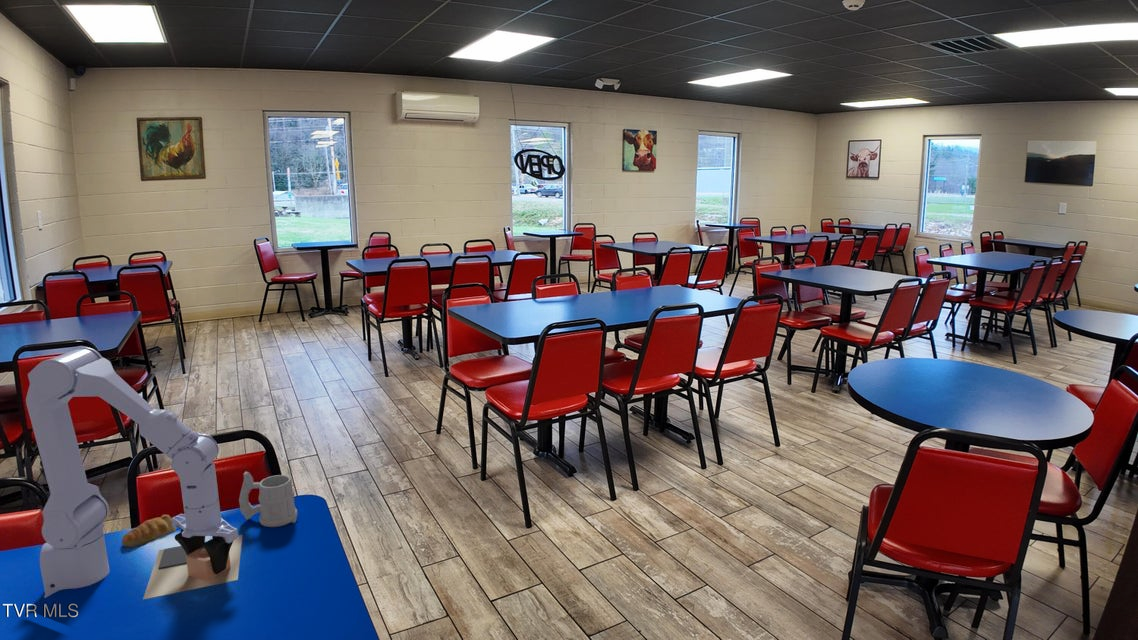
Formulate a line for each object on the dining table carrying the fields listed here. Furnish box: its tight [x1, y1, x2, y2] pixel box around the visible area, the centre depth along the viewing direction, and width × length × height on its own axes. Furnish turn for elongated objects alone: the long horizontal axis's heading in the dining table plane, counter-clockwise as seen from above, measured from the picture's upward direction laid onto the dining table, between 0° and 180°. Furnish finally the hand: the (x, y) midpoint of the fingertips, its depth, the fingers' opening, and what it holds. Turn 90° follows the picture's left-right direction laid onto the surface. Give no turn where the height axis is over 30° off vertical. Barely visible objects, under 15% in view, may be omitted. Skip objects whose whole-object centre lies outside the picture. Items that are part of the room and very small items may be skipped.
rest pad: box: [158, 545, 187, 569], centre depth 130 cm, size 7×7×1 cm
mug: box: [238, 471, 298, 528], centre depth 143 cm, size 8×12×12 cm, turn 94°
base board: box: [142, 534, 243, 600], centre depth 127 cm, size 15×17×1 cm
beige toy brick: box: [186, 547, 231, 582], centre depth 124 cm, size 5×5×5 cm
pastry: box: [121, 514, 177, 548], centre depth 138 cm, size 9×7×4 cm
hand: (209, 567), depth 124 cm, fingers closed on beige toy brick, 5 cm apart
